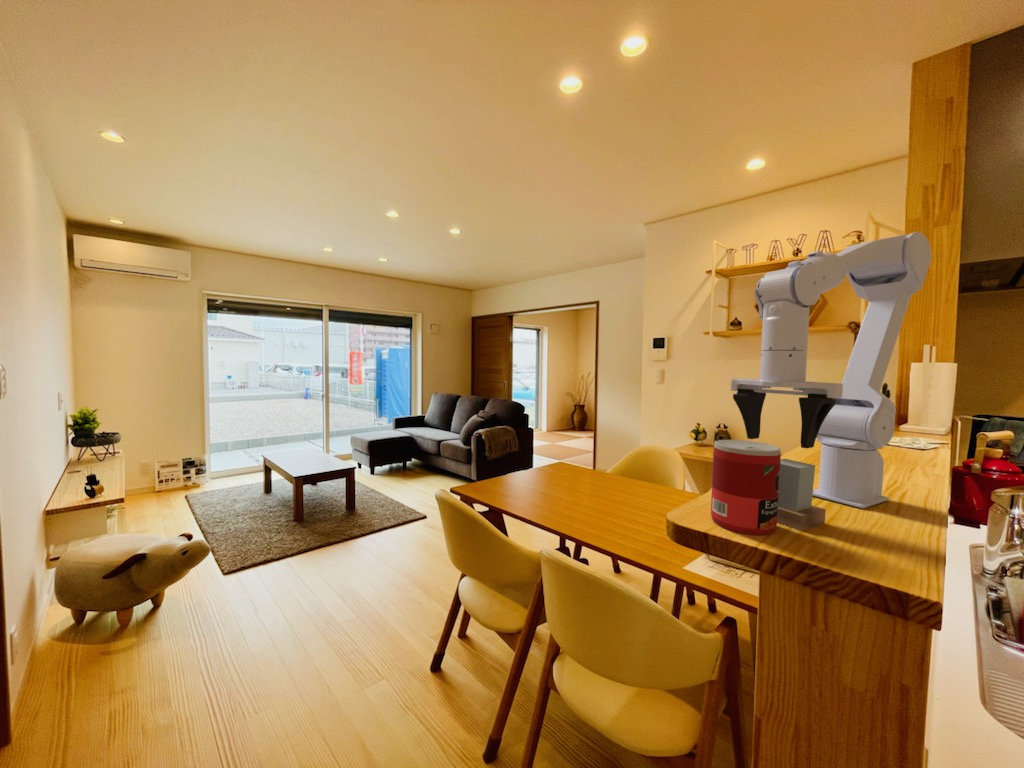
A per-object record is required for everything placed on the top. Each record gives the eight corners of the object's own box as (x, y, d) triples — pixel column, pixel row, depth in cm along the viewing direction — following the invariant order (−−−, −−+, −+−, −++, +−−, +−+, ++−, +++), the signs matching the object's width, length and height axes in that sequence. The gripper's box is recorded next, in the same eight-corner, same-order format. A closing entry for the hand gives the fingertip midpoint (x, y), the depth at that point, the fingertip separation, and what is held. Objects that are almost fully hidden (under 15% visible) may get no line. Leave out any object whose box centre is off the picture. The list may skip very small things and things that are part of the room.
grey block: (781, 498, 63) (784, 458, 62) (811, 507, 59) (815, 465, 59) (766, 502, 61) (769, 461, 60) (796, 511, 57) (800, 468, 57)
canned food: (773, 541, 52) (778, 453, 52) (704, 525, 57) (707, 444, 57) (779, 523, 58) (784, 444, 58) (716, 510, 63) (720, 437, 63)
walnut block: (779, 512, 64) (780, 496, 64) (824, 526, 59) (825, 509, 59) (756, 518, 61) (757, 501, 61) (800, 534, 56) (801, 515, 56)
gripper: (721, 350, 66) (717, 436, 67) (827, 349, 54) (821, 454, 55) (746, 352, 70) (742, 433, 71) (852, 351, 58) (845, 449, 58)
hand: (778, 442), depth 63 cm, fingers open, 7 cm apart
